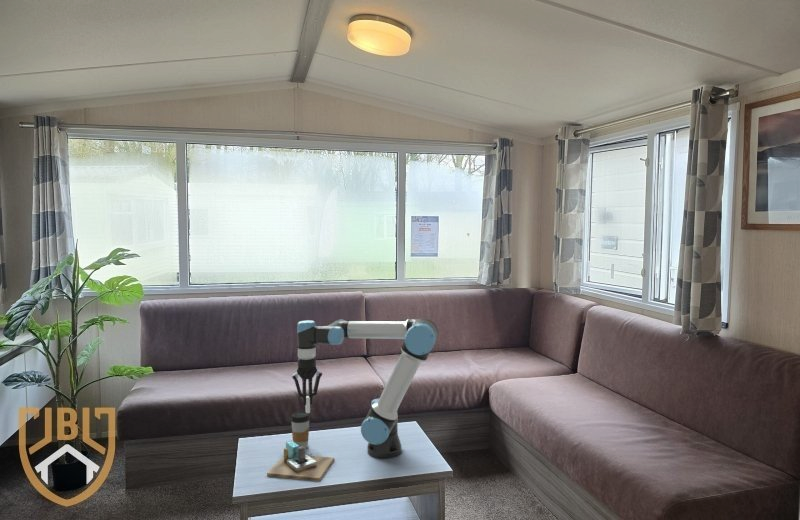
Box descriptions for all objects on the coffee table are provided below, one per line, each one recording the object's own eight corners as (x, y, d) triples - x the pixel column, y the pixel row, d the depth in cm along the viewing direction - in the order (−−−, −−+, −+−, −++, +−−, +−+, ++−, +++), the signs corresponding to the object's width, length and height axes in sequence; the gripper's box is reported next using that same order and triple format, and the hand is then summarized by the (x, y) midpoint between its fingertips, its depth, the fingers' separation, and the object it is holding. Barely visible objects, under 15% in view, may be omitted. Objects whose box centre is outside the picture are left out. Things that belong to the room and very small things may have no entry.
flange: (298, 452, 220) (297, 438, 219) (316, 465, 208) (316, 450, 207) (279, 457, 214) (278, 444, 214) (297, 471, 202) (296, 457, 201)
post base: (334, 460, 215) (334, 440, 215) (319, 481, 197) (319, 459, 197) (285, 456, 219) (285, 437, 219) (267, 476, 201) (266, 455, 201)
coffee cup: (305, 451, 223) (305, 418, 223) (288, 450, 225) (287, 417, 224) (312, 444, 232) (312, 411, 231) (295, 442, 233) (295, 410, 232)
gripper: (320, 353, 220) (321, 407, 221) (289, 356, 216) (291, 411, 217) (323, 357, 213) (324, 413, 214) (292, 360, 209) (293, 417, 210)
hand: (307, 412), depth 216 cm, fingers closed
